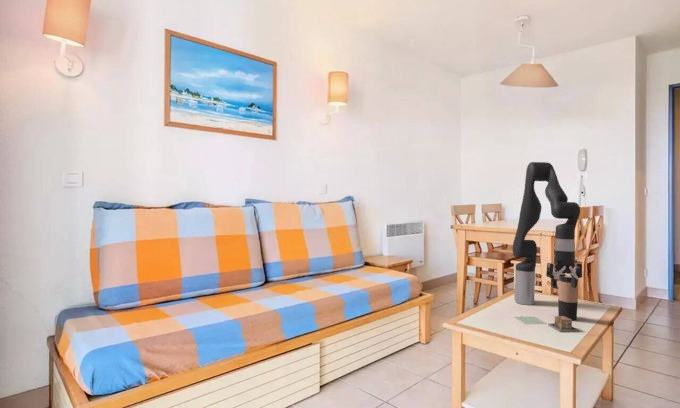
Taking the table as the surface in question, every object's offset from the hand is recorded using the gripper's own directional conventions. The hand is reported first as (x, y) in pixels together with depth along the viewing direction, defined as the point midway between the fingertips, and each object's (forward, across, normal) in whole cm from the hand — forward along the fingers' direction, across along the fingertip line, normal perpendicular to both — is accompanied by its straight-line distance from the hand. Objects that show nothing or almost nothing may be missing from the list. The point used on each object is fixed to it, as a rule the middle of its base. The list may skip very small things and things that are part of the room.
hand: (564, 287), depth 161 cm
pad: (+18, +8, -11) cm, 22 cm away
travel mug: (+18, -11, -13) cm, 25 cm away
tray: (+18, 0, 0) cm, 18 cm away
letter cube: (+17, 0, 0) cm, 17 cm away
